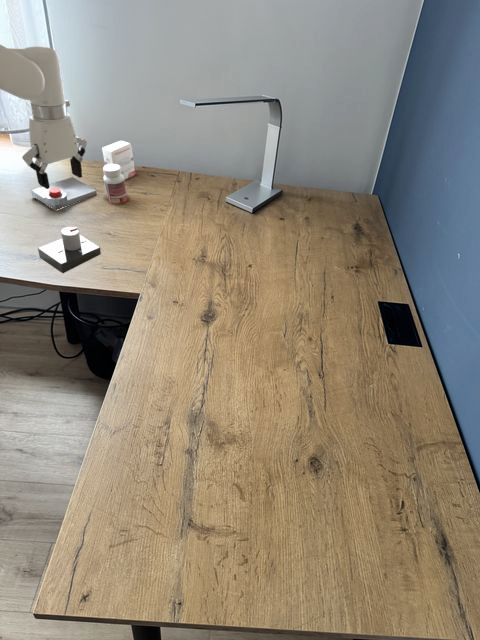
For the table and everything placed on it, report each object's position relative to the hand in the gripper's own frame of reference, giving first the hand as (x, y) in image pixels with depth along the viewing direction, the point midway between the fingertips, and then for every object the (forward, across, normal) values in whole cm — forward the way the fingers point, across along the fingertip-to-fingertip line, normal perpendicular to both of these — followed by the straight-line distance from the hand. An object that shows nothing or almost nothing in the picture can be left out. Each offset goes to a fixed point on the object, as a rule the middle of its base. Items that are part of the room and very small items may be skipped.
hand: (61, 181), depth 126 cm
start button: (+15, -10, -20) cm, 27 cm away
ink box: (+18, -37, -21) cm, 46 cm away
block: (+18, -16, -24) cm, 34 cm away
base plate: (+18, +4, +5) cm, 20 cm away
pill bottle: (+18, -26, -10) cm, 33 cm away
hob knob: (+15, +3, +5) cm, 16 cm away
